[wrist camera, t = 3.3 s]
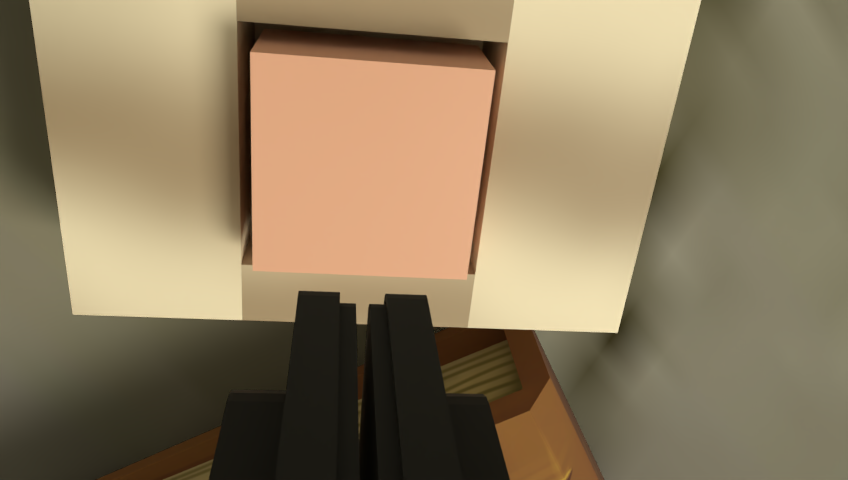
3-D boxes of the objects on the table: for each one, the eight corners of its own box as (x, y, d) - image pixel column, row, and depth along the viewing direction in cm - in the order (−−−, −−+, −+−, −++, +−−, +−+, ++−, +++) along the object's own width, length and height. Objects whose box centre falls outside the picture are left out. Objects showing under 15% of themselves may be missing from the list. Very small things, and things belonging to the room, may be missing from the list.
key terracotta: (264, 28, 17) (250, 52, 15) (477, 45, 17) (495, 70, 15) (264, 224, 19) (252, 270, 17) (454, 233, 20) (466, 279, 17)
